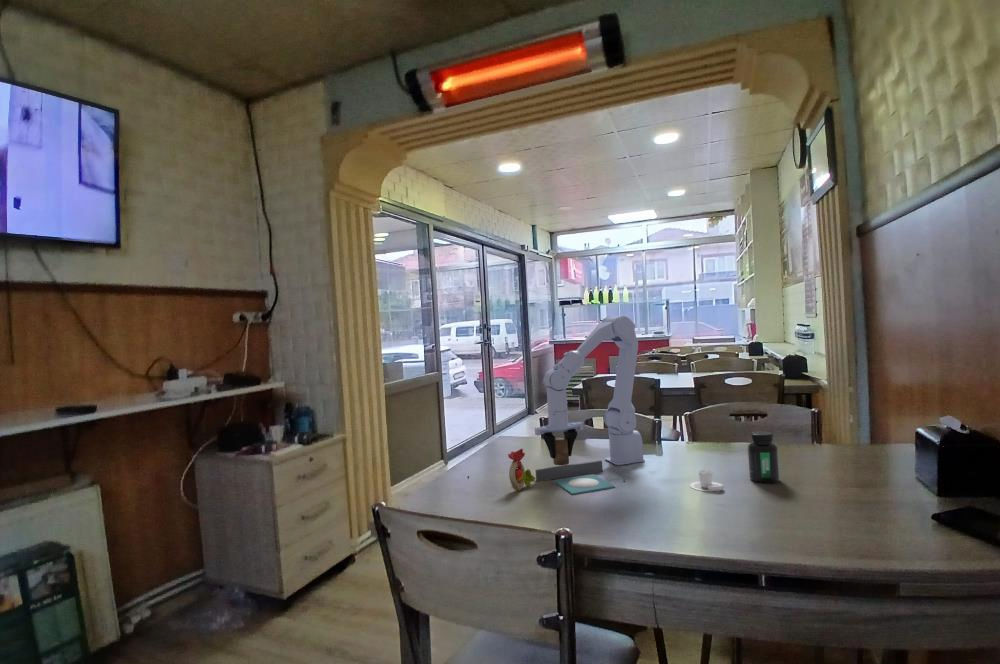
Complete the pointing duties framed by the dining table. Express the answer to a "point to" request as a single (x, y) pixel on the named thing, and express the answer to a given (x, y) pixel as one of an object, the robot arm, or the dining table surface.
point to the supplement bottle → (763, 458)
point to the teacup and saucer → (707, 482)
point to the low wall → (568, 470)
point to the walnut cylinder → (561, 451)
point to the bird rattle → (519, 471)
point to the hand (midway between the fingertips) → (560, 456)
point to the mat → (583, 484)
